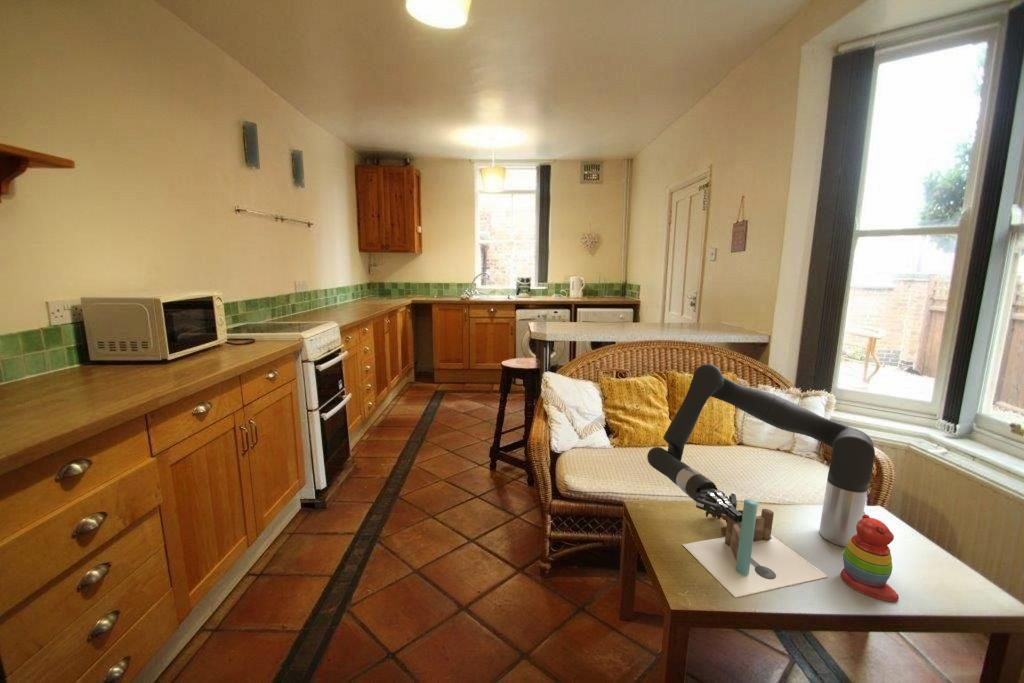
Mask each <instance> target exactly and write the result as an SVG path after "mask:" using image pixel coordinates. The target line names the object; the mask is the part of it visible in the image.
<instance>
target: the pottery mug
mask: <svg viewBox="0 0 1024 683" xmlns="http://www.w3.org/2000/svg"><path fill="white" fill-rule="evenodd" d="M711 509H712V508H711ZM736 510H737V511H739V512H740V513H742V514H743V509H741V510H739V509H736ZM704 514H705V517H706V518H708V517H709V515H710V516H711V517H712V518H714V519H716V518H717V517H718V519H722V520H723V521H725V523H726V524H727V519H728V516H726V515H723V514H721V513H720V515H716V514H713V513H710V512H707V511H705V513H704ZM726 528H727V526H724V527H721V528H720V530H721V534H722V536H726Z"/></svg>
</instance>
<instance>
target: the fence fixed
mask: <svg viewBox="0 0 1024 683" xmlns="http://www.w3.org/2000/svg"><path fill="white" fill-rule="evenodd" d="M760 514H761V515H756V522H755V529H754V537H753V541H755V540H760V539H763V540H765V541H769V540H770V538H771V535H772V530H773V529H772V528H773V523H774V522H773V521H774V514H775V513H774V511H772V510H771V509H768V508H763V509H761V513H760ZM733 523H734V524H738V526H739V529H740V531H741V523H742V522H738V523H736V522H735V521H733V520H732V519H730V518H729V517H728V519H727V523H726V527H727V528H726V535H725V536H724V537H725V544H726V545H728V546H730V543H731V534H732V526H733Z"/></svg>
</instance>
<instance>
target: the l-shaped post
mask: <svg viewBox="0 0 1024 683" xmlns="http://www.w3.org/2000/svg"><path fill="white" fill-rule="evenodd" d="M743 500H744V501H743V505H742V506H743V507H742V510H743V514H742V523H741V531H740V529H739V526H738V524H734V523H733V526H732V534H731V543H730V547H731V549H732V552H733V554H734V557H735V559H736V562H737V564H736V570H737V571H738V572H739V573H740V574H743V575H748V574H749V569H750V561H751V553H752V545H753V537H754V529H755V522H756V516H757V512H758V507H759V506H758V505H759V503H758V502H757V501H756V500H754V499H750V498H745V499H743Z"/></svg>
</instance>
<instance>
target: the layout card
mask: <svg viewBox="0 0 1024 683" xmlns="http://www.w3.org/2000/svg"><path fill="white" fill-rule="evenodd" d="M725 537H726V536H723V537H717V538H711V539H706V540H705V539H704V540H699V541H694V542H689V543H688V542H687V543H683V544H682V545H683V546H684V547H685V548H686V549H687V550H688V551H689V552H690V553H691V554H692V555H693V556H694V557H695V558H696V559H697V560H698V561H697V562H699V564H700V565H701V566H702V567H704V568H705V570H706V571H708V573H709V574H711V575H712V577H714V578H715V580H717V581H718V582H719V584H720V585H722V586H723V587H724V588H725V589H726V590H727V591H728V592H729V593H730V594H731V595H732V596H733V598H734V599H736V598H741V597H745V596H752V595H755V594H760V593H764V592H770V591H773V590H778V589H782V588H787V587H790V586H795V585H800V584H804V583H809V582H813V581H818V580H823V579H828V578H829V576H828V575H827V574H826V573H824V572H823V571H822V570H820V569H819V568H818V567H816V566H814V565H813V564H812V563H810V562H809V561H808V560H806V559H805V558H803V557H802V556H801V555H800V554H798V553H797V552H796V551H794V550H793V549H791V548H790V547H788V546H787V545H786V544H784V543H783V542H781V541H780V540H779V539H778V538H776V537H774V536H773V535H772V534H771V538H770V540H769V541H765V540H763V539H760V540H755V541H753V545H752V553H751V561H750V569H749V574H748V575H743V574H740V573H739V572H738V571H737V570H736V564H737V562H736V559H735V557H734V554H733V552H732V549H731V547H730V546H728V545H726V544H725ZM683 546H682V547H683ZM684 547H683V548H684ZM685 548H684V549H685ZM686 549H685V550H686ZM687 550H686V551H687ZM688 551H687V552H688ZM689 552H688V553H689ZM690 553H689V554H690ZM691 554H690V555H691ZM692 555H691V556H692ZM693 556H692V557H693ZM694 557H693V558H694ZM696 559H695V560H696Z"/></svg>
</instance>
